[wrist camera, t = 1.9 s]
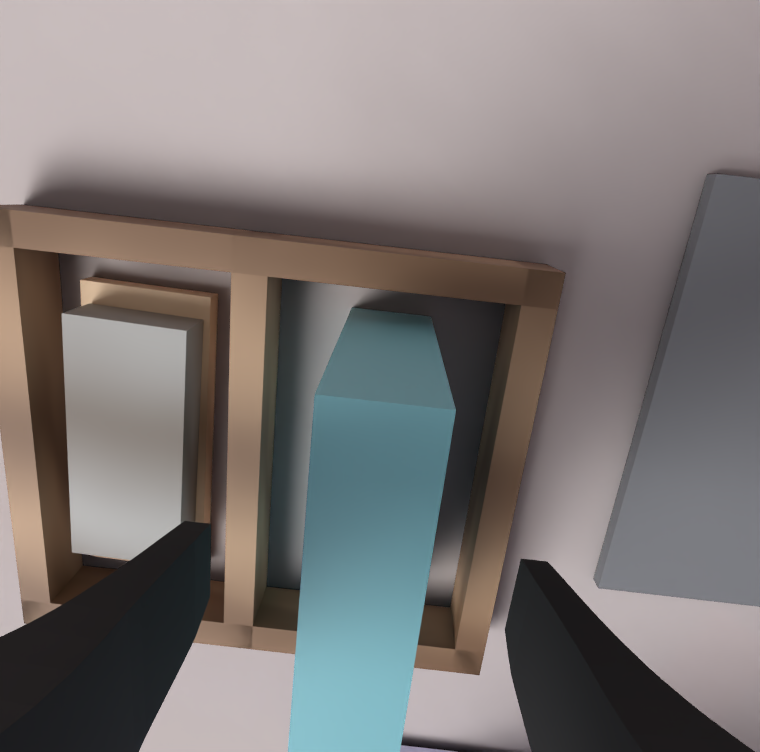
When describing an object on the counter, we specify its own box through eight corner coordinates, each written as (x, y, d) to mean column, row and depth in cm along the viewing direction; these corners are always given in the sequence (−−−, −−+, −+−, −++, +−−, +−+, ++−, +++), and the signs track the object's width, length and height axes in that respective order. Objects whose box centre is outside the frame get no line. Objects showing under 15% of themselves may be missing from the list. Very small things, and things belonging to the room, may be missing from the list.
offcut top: (194, 539, 19) (179, 566, 18) (95, 525, 19) (71, 552, 18) (204, 319, 17) (186, 330, 15) (89, 303, 17) (61, 313, 15)
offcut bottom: (215, 545, 21) (202, 570, 20) (113, 531, 21) (92, 556, 19) (225, 289, 18) (210, 297, 16) (105, 273, 18) (79, 279, 16)
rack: (472, 631, 21) (479, 674, 19) (58, 584, 21) (24, 623, 19) (546, 264, 16) (565, 272, 14) (21, 204, 16) (-28, 205, 14)
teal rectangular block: (394, 576, 20) (391, 805, 13) (327, 569, 20) (285, 793, 13) (430, 315, 17) (455, 410, 9) (352, 307, 17) (315, 394, 9)
